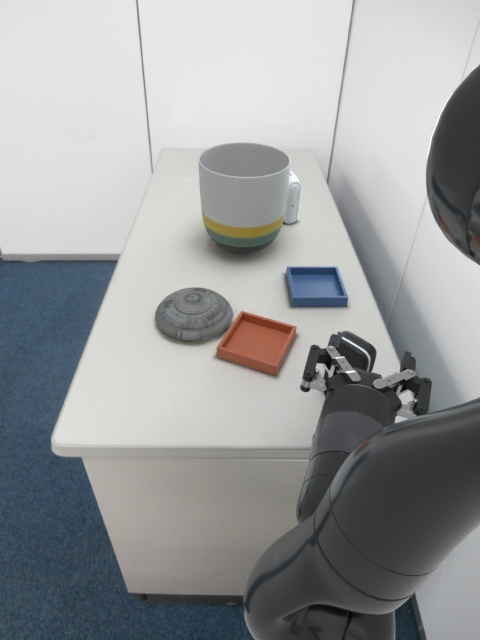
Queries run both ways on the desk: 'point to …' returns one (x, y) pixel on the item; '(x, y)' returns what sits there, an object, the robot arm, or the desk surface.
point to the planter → (243, 194)
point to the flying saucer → (193, 314)
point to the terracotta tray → (257, 342)
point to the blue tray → (316, 286)
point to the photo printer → (292, 199)
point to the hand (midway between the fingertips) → (371, 346)
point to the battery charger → (356, 352)
